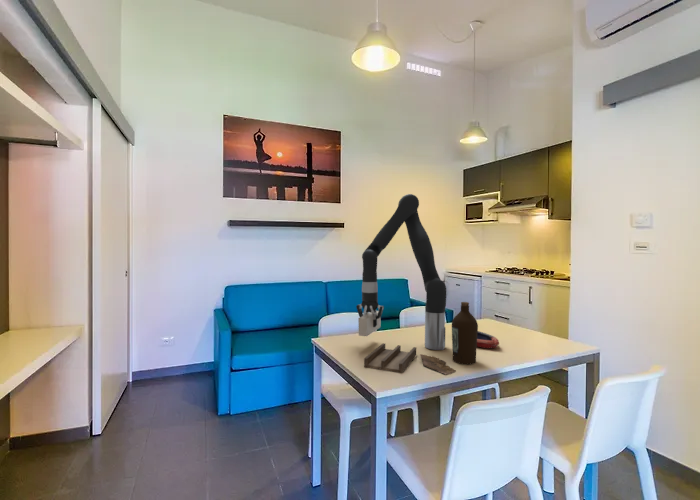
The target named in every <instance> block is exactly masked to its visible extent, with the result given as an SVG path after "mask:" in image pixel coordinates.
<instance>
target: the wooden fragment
mask: <svg viewBox="0 0 700 500" xmlns="http://www.w3.org/2000/svg"><path fill="white" fill-rule="evenodd" d="M419 356H420V359H421V362H422V365H423V366H424V367H426V368H428V369H431V370H433V371H435V372H439V373H442V374H445V376H448V375H452V374H454V373H455V372H456V371H457V370H456V369H454V368H452V367H450V365H447V362H446V361H445V360H442V359H440V358H439V357H436V356H433V355H432V356H431V355H426V354H422V353H421V354H419Z"/></svg>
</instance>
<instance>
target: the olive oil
mask: <svg viewBox="0 0 700 500" xmlns="http://www.w3.org/2000/svg"><path fill="white" fill-rule="evenodd" d="M469 304H470V303H469V301H461V302H460V311H459V312H458V313H457V314H456V315H455V316H454V317H453V318H452V321H451V341H452V342H451V345H452V346H451V347H452V362H454V363H456V364H460V365H473V364H476V362H477V349H478V347H477V333H478V331H479V323H478V321H477V319H476V318H475V316H474V315H473V314H472V313H471V312H470V305H469Z"/></svg>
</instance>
